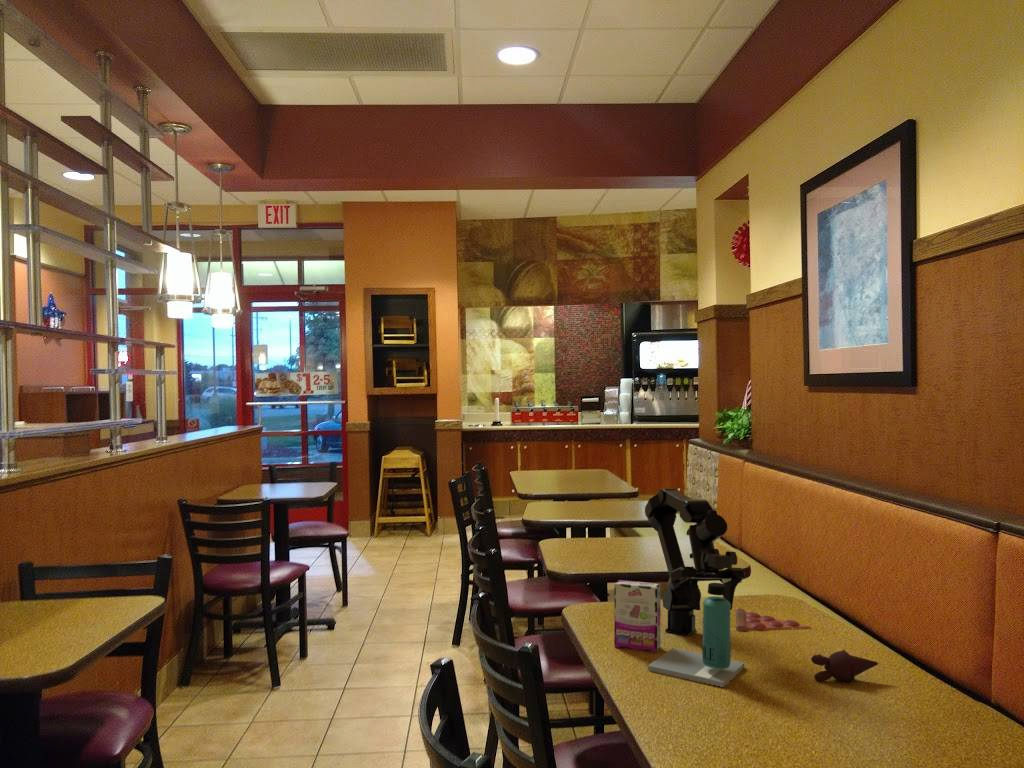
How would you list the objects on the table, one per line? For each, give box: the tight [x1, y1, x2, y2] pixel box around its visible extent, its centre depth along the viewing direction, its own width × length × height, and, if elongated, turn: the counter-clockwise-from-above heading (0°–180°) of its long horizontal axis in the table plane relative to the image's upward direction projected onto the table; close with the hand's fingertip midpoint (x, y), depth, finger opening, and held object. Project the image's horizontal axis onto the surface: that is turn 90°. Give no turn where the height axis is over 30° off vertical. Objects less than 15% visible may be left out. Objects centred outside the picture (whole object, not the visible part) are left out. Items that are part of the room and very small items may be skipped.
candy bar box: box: [613, 579, 662, 653], centre depth 197 cm, size 11×5×16 cm, turn 68°
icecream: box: [810, 649, 879, 682], centre depth 176 cm, size 7×7×15 cm
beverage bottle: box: [701, 582, 732, 669], centre depth 177 cm, size 6×7×20 cm
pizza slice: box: [735, 607, 812, 632], centre depth 217 cm, size 18×2×20 cm
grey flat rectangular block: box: [647, 647, 745, 688], centre depth 182 cm, size 18×15×1 cm
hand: (714, 610), depth 190 cm, fingers open, 9 cm apart
